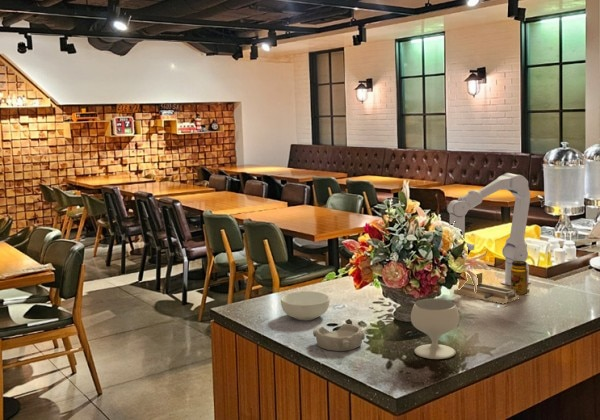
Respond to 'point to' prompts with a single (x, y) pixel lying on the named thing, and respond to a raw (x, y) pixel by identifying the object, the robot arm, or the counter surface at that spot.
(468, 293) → the wooden tray
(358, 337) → the dish
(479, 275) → the pale yellow cube
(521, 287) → the condiment
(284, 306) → the cereal bowl
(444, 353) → the chalice
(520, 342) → the counter surface
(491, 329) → the counter surface
